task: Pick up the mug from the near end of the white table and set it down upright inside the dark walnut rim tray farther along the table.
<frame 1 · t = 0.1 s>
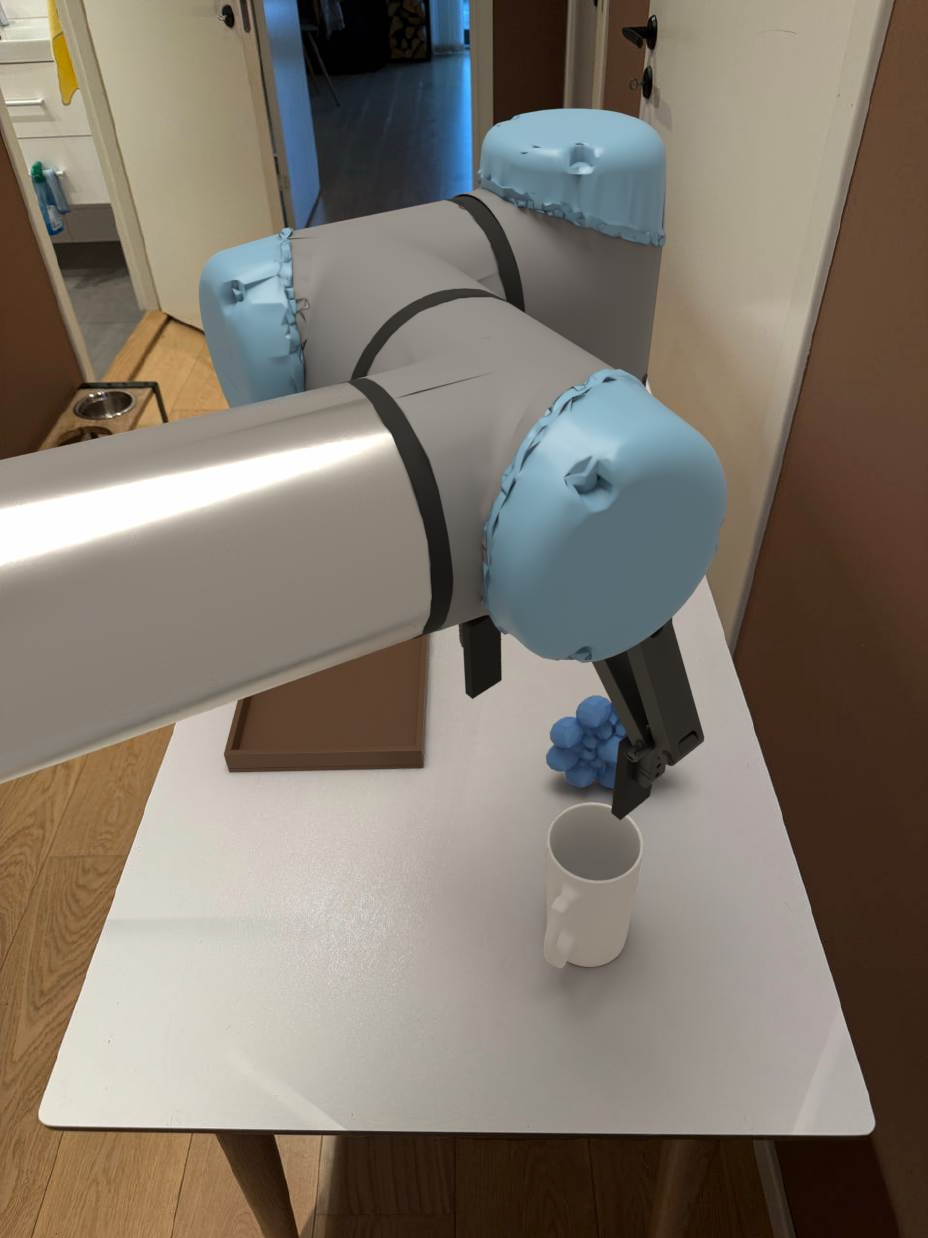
hand: (552, 742, 60), 21 cm above the table, tool pointing down, fingers open, 13 cm apart
bowl: (457, 481, 122), on the table
blue sphere cluster: (608, 777, 84), on the table
tray: (341, 661, 97), on the table
mug: (576, 948, 72), on the table
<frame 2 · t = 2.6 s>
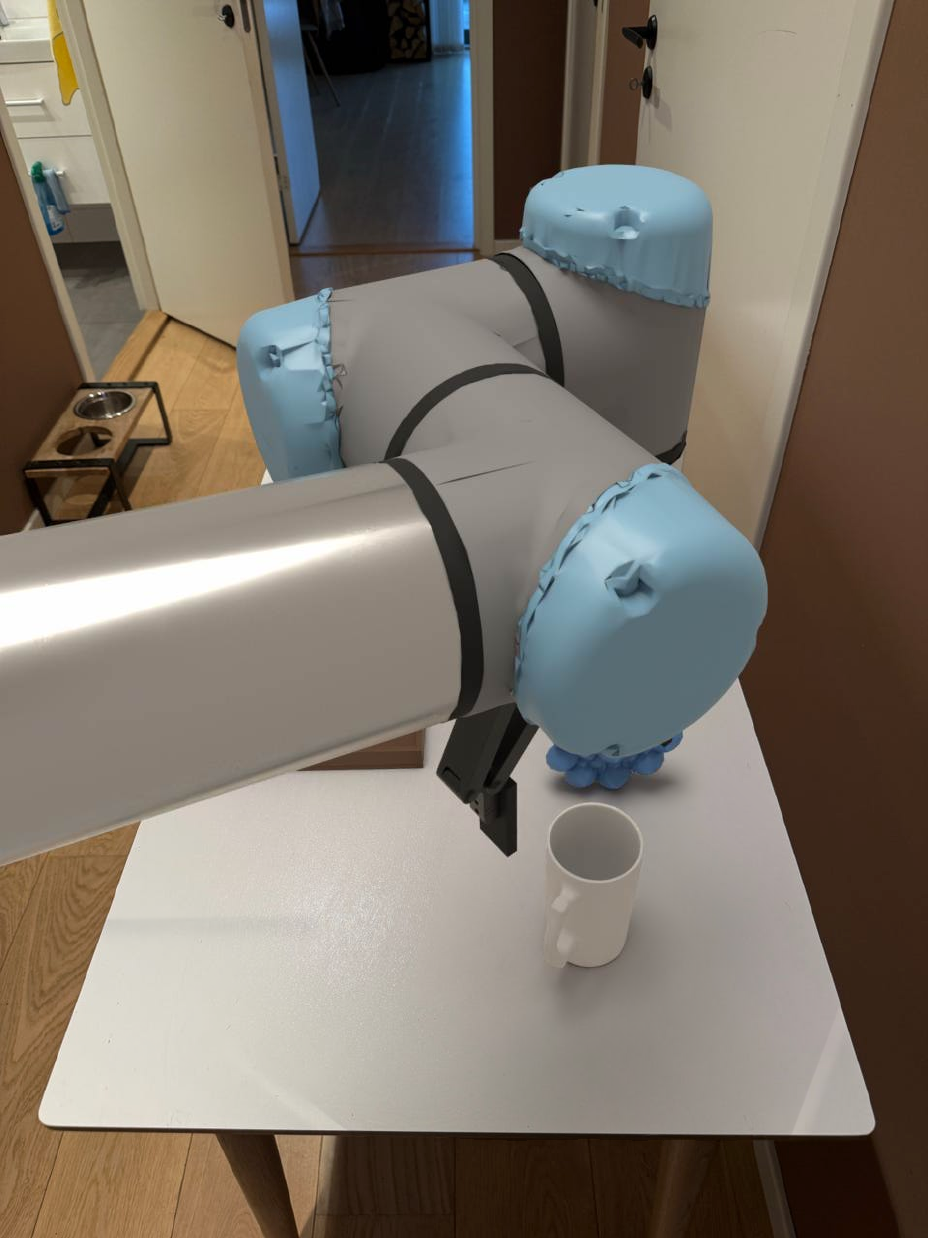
hand: (579, 784, 60), 19 cm above the table, tool pointing down, fingers open, 13 cm apart
nothing on the table moved.
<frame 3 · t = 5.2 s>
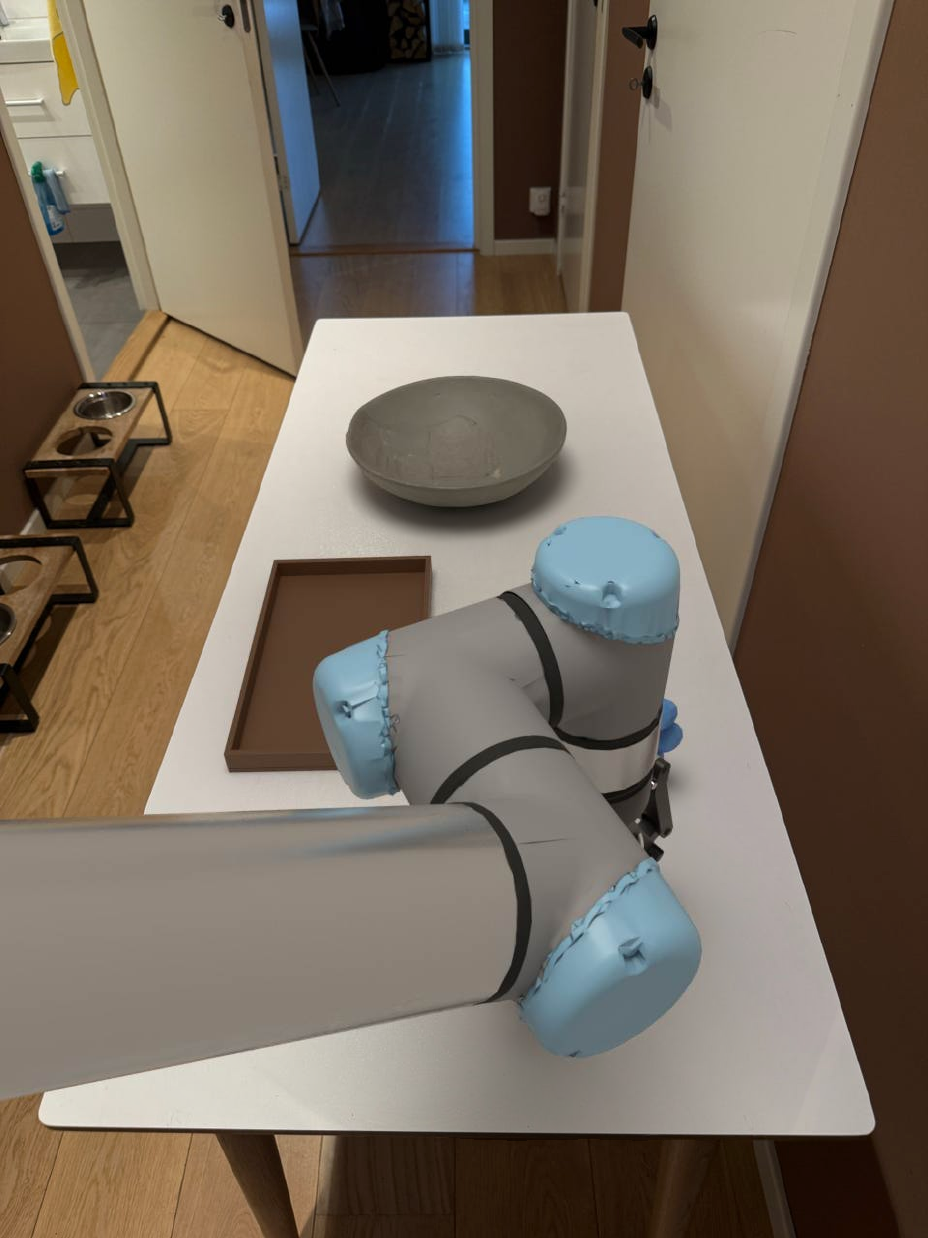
hand: (577, 940, 71), 1 cm above the table, tool pointing down, fingers closed on mug, 10 cm apart
mug: (576, 948, 72), on the table, touching gripper
everything else where it was.
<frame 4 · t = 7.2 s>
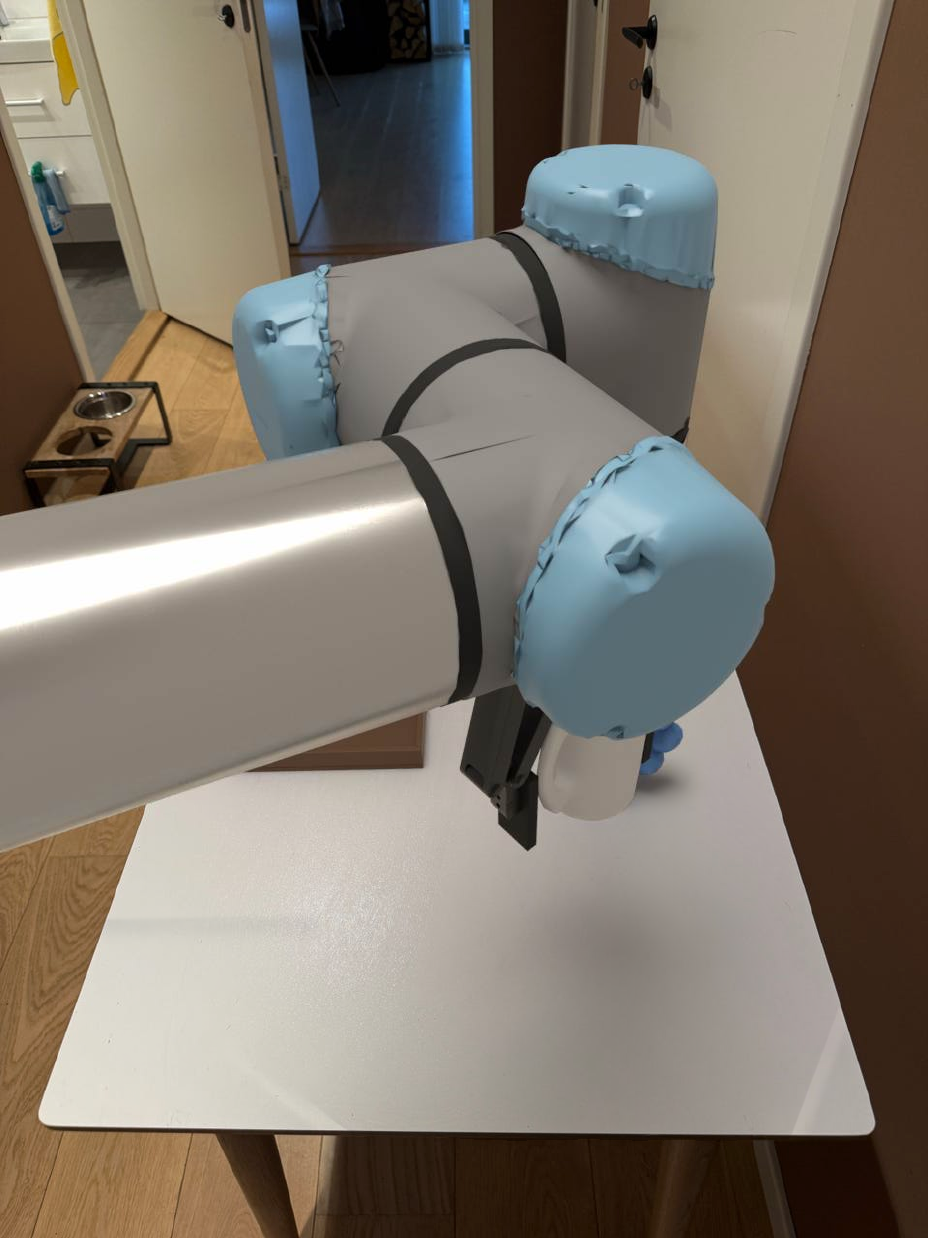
hand: (576, 790, 60), 19 cm above the table, tool pointing down, fingers closed on mug, 10 cm apart
mug: (575, 802, 61), point 18 cm above the table, touching gripper
everything else where it was.
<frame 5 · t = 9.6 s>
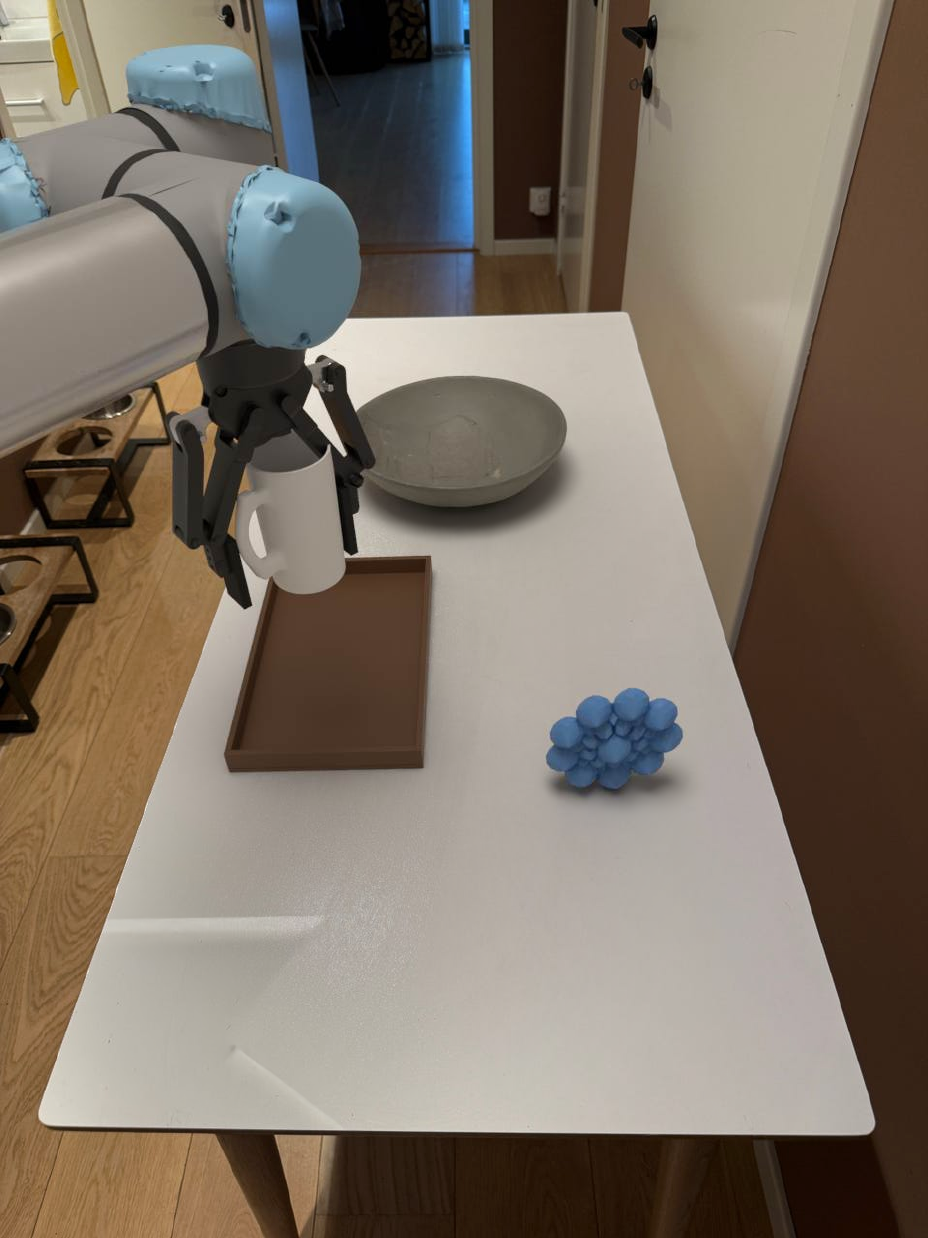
hand: (294, 572, 77), 19 cm above the table, tool pointing down, fingers closed on mug, 10 cm apart
mug: (297, 584, 78), point 18 cm above the table, touching gripper
everything else where it was.
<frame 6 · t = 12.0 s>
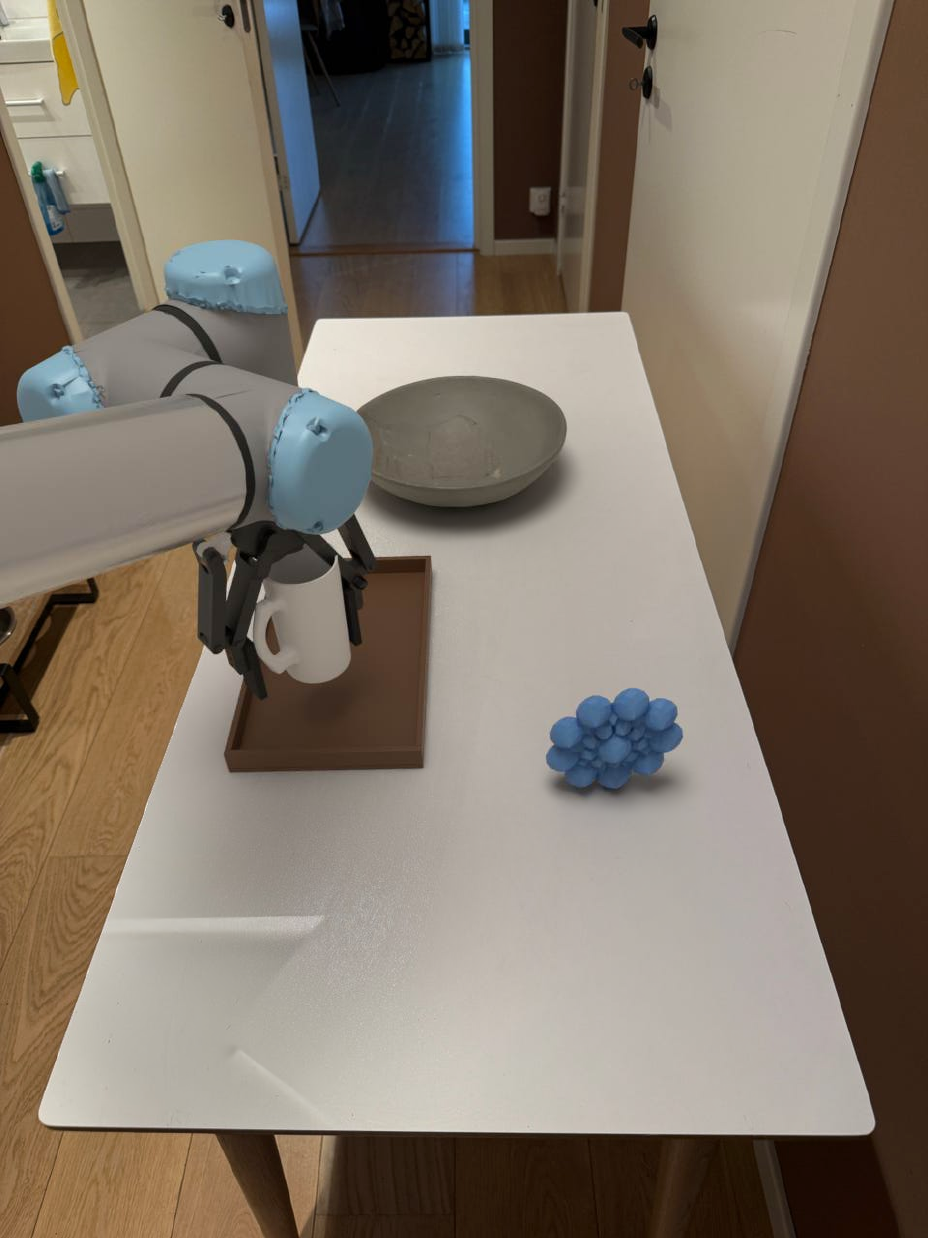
hand: (305, 663, 86), 8 cm above the table, tool pointing down, fingers closed on mug, 10 cm apart
mug: (307, 672, 87), point 6 cm above the table, touching gripper
everything else where it was.
when the fingers open (2 cm above the table, at t = 14.0 s): mug stays where it is, resting on tray.
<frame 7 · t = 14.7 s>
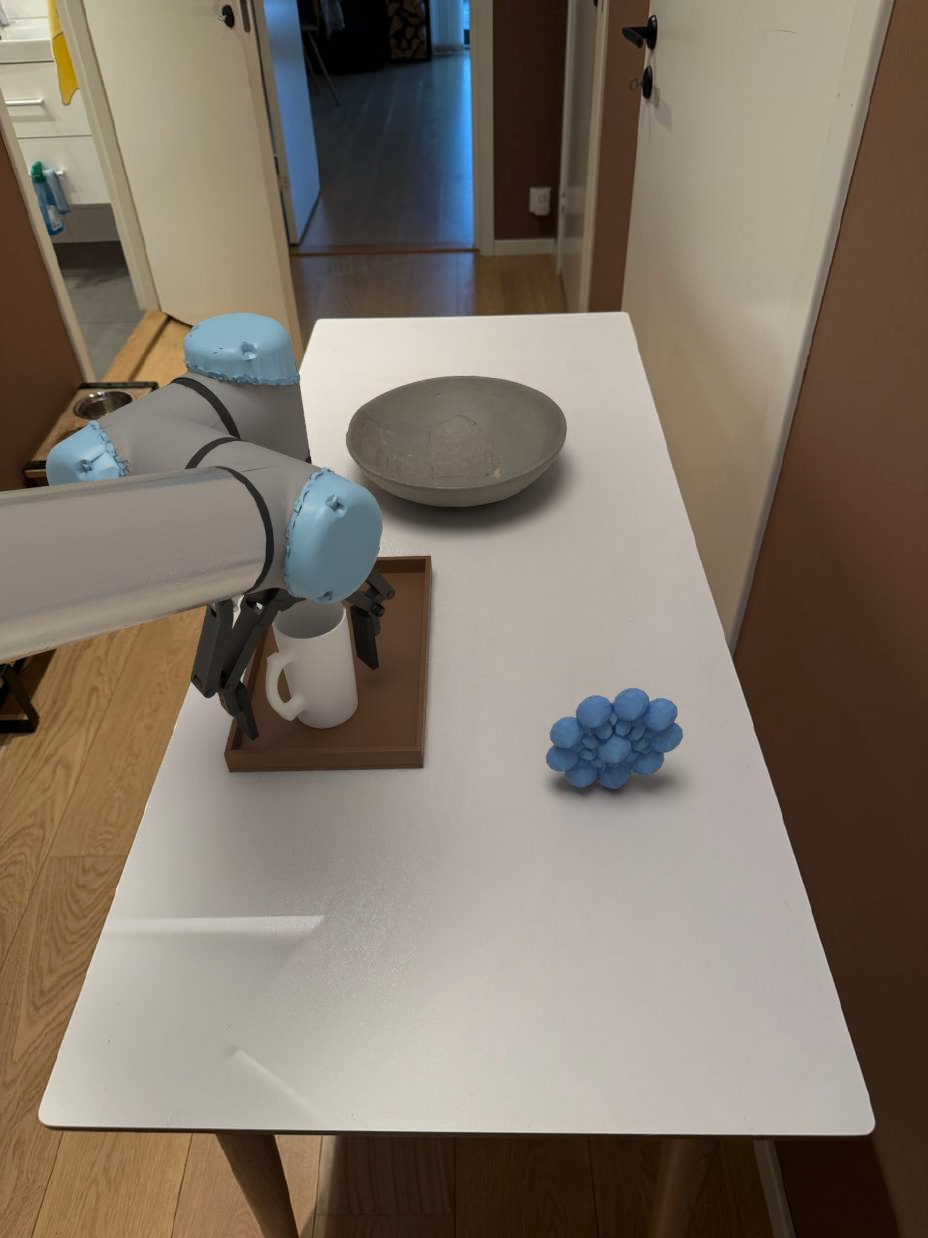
hand: (310, 695, 88), 4 cm above the table, tool pointing down, fingers open, 13 cm apart
mug: (316, 717, 91), resting on tray
everything else where it was.
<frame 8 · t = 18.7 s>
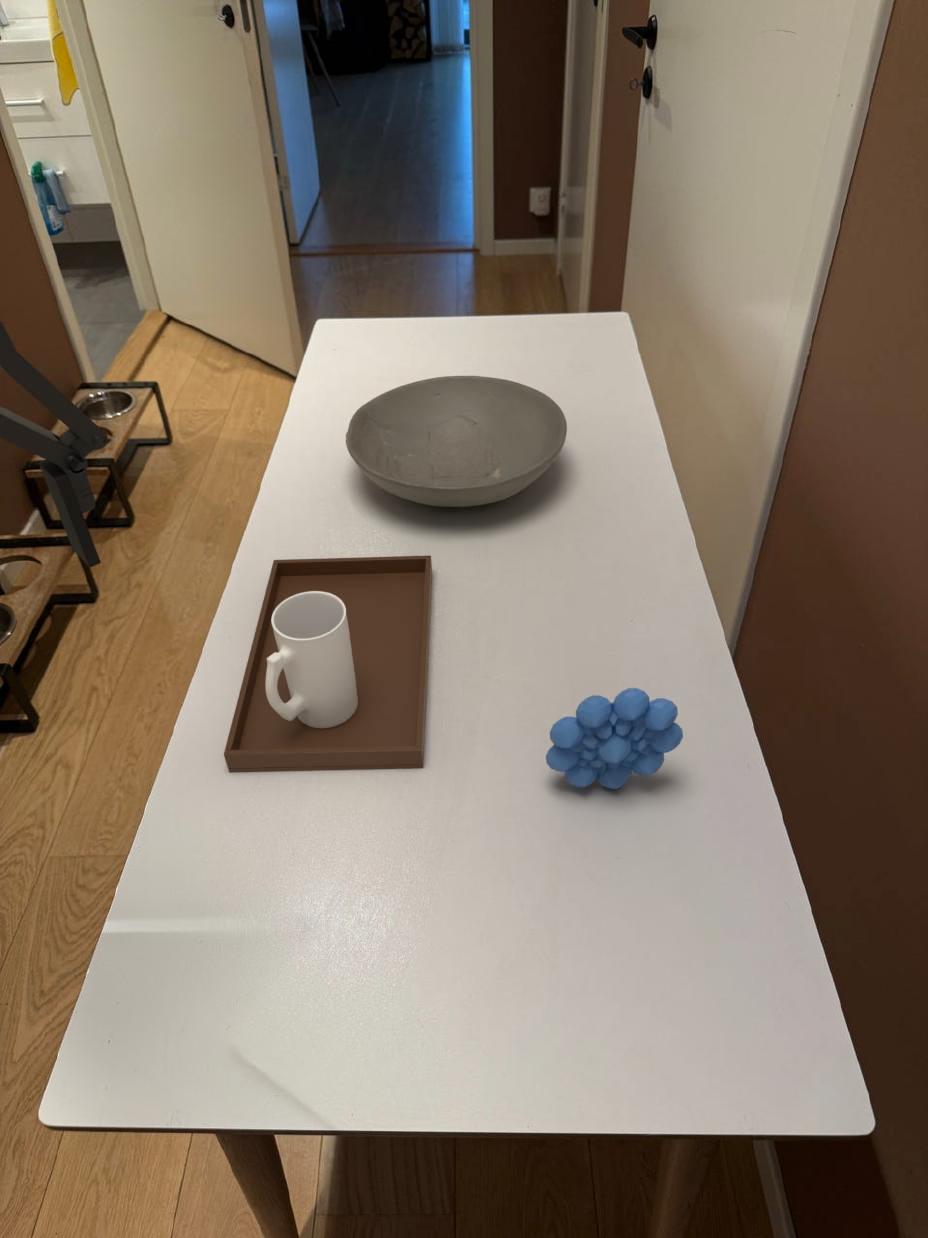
nothing on the table moved.
at the end: mug inside the target area in the tray (3.8 cm from its centre), point 0.3 cm above the tray's base; mug tilted 0°; the gripper is holding nothing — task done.
